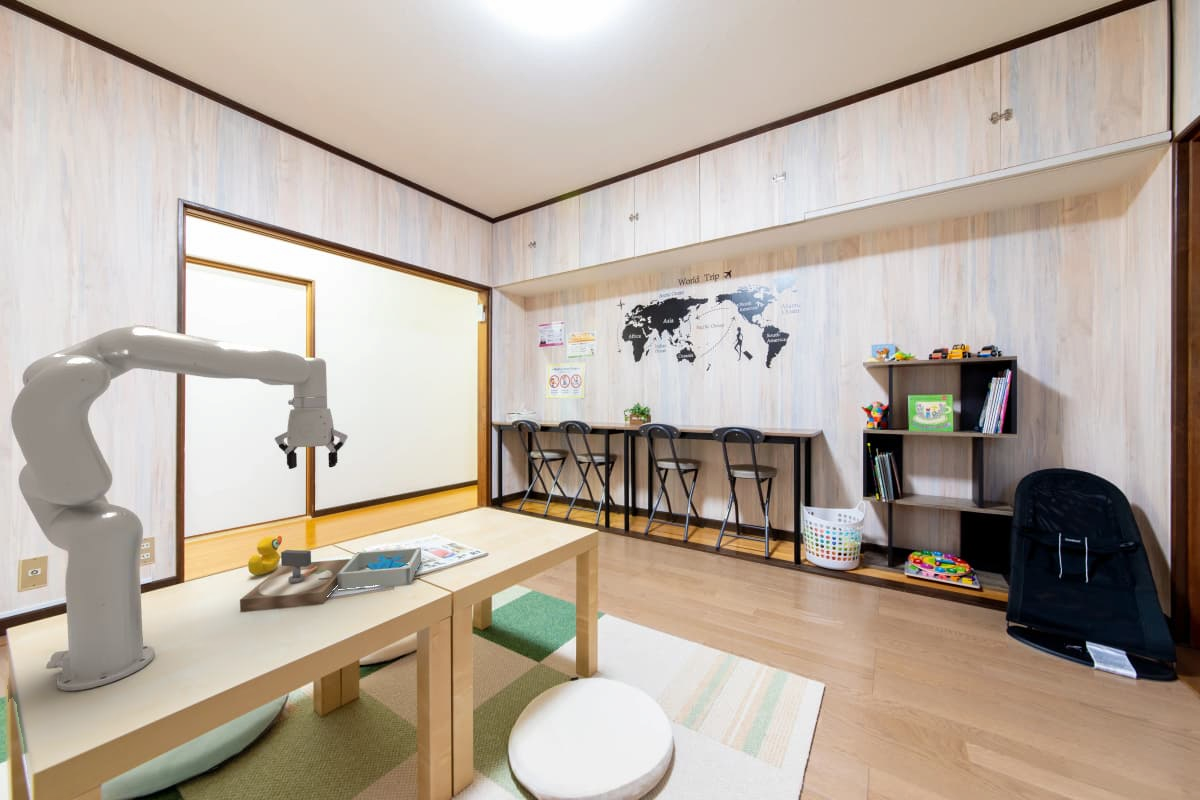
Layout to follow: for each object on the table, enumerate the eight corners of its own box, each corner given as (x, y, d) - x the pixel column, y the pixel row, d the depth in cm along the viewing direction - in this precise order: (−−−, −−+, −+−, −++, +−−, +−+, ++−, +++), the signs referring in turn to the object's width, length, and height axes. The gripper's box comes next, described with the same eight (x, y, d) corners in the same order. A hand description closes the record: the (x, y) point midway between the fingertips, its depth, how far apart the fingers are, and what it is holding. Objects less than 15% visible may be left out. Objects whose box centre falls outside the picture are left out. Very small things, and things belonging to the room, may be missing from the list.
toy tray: (337, 591, 119) (337, 574, 119) (357, 567, 135) (357, 552, 135) (410, 584, 123) (409, 568, 123) (421, 561, 138) (420, 547, 138)
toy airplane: (365, 572, 131) (364, 558, 131) (401, 564, 137) (400, 550, 137) (373, 587, 122) (372, 572, 122) (411, 577, 128) (410, 562, 127)
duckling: (272, 564, 138) (271, 531, 137) (290, 564, 137) (289, 531, 137) (242, 580, 126) (240, 545, 126) (260, 580, 126) (259, 545, 126)
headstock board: (240, 611, 108) (239, 598, 108) (284, 574, 130) (284, 563, 130) (322, 603, 112) (322, 590, 112) (352, 568, 134) (352, 557, 133)
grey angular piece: (303, 583, 116) (302, 554, 115) (279, 582, 117) (278, 553, 116) (328, 569, 124) (328, 542, 124) (305, 568, 125) (305, 541, 125)
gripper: (267, 405, 116) (269, 471, 116) (341, 403, 119) (342, 468, 120) (281, 403, 123) (283, 466, 123) (350, 402, 126) (352, 463, 127)
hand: (312, 467), depth 121 cm, fingers open, 9 cm apart
